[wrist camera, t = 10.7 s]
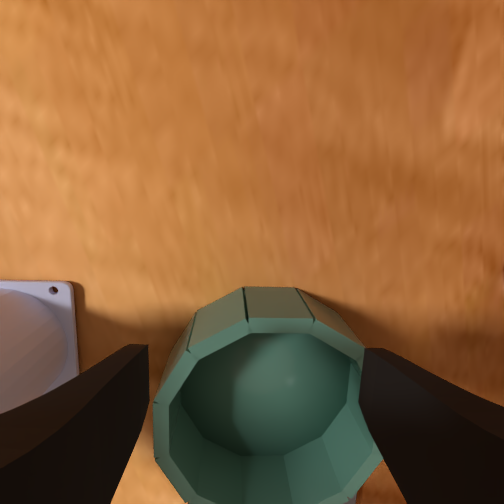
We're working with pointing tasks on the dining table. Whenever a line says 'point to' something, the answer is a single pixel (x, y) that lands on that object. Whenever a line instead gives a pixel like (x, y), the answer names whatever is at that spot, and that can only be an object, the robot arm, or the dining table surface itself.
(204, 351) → the green pot
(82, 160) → the dining table surface
